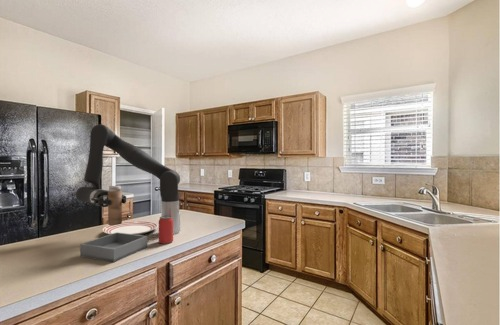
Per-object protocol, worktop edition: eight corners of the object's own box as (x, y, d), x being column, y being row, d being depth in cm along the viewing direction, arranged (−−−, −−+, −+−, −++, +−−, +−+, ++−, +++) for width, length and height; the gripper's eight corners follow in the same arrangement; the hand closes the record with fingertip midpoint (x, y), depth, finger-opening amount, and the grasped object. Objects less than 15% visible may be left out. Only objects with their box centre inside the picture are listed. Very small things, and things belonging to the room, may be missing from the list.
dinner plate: (166, 226, 153) (166, 220, 153) (142, 241, 126) (142, 234, 126) (122, 225, 156) (122, 219, 156) (89, 239, 129) (89, 232, 129)
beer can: (174, 239, 127) (174, 215, 127) (171, 244, 120) (171, 218, 120) (161, 239, 127) (161, 215, 127) (156, 244, 120) (156, 218, 120)
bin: (116, 242, 122) (116, 232, 122) (147, 247, 116) (147, 236, 116) (80, 256, 105) (80, 244, 105) (114, 262, 99) (113, 249, 99)
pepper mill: (115, 221, 114) (115, 185, 114) (124, 222, 112) (124, 185, 112) (105, 224, 109) (105, 186, 109) (114, 225, 107) (114, 187, 107)
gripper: (84, 191, 114) (99, 194, 103) (117, 188, 125) (134, 191, 114) (84, 208, 114) (99, 213, 103) (117, 203, 125) (134, 208, 114)
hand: (117, 201), depth 109 cm, fingers closed on pepper mill, 5 cm apart
